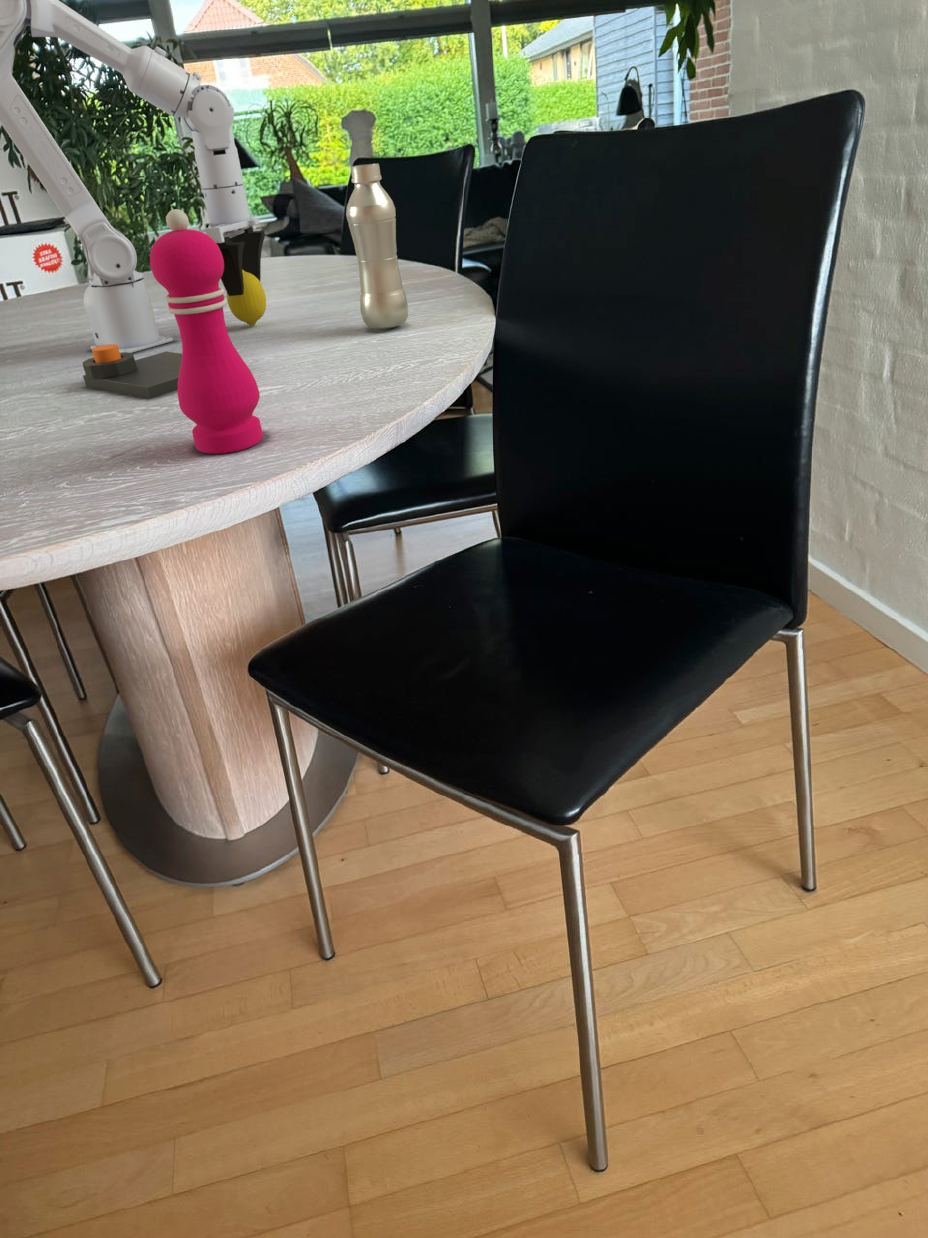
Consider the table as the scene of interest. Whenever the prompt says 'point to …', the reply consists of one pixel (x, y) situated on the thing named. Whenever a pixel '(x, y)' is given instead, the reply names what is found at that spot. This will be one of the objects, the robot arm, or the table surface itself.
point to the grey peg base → (135, 374)
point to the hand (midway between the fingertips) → (244, 289)
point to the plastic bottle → (376, 250)
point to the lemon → (248, 301)
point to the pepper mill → (205, 341)
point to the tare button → (106, 353)
